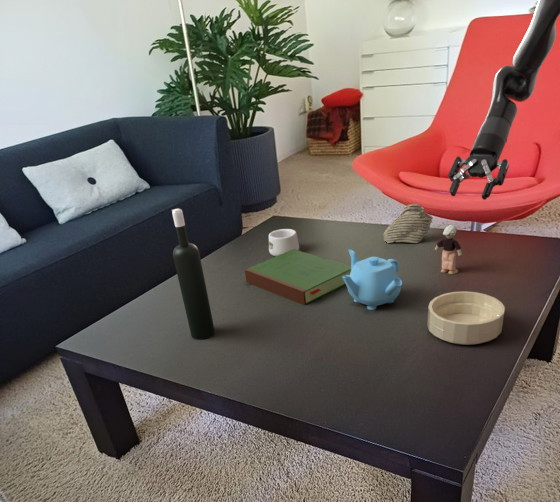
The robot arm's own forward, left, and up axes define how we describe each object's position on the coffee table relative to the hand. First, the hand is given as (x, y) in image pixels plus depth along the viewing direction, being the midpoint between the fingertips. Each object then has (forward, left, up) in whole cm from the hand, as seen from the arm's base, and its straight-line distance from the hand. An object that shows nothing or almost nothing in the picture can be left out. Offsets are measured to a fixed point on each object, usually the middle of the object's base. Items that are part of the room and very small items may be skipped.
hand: (467, 196), depth 137 cm
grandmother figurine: (0, +9, -18) cm, 20 cm away
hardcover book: (+32, +33, -18) cm, 49 cm away
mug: (+52, +17, -18) cm, 57 cm away
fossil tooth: (+21, -7, -18) cm, 28 cm away
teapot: (+8, +34, -18) cm, 39 cm away
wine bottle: (+34, +68, -18) cm, 78 cm away
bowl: (-17, +36, -18) cm, 43 cm away
